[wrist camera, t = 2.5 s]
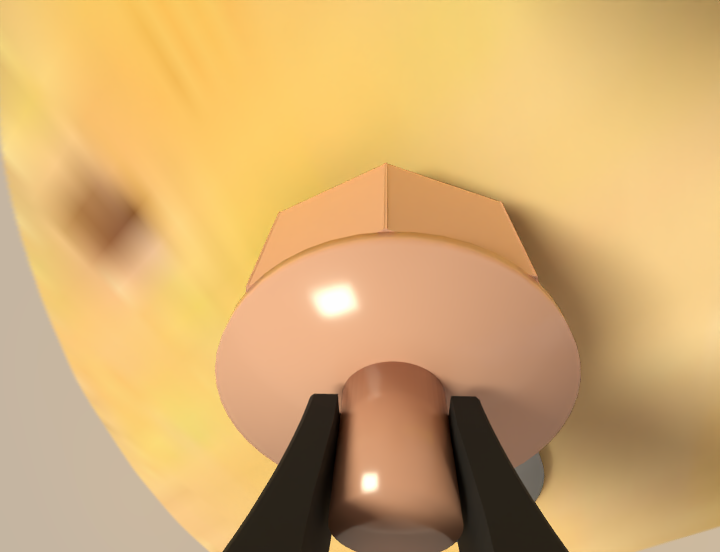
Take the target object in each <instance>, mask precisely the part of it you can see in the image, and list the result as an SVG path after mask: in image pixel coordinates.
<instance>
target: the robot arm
mask: <svg viewBox="0 0 720 552" xmlns="http://www.w3.org/2000/svg"><path fill="white" fill-rule="evenodd" d="M339 416H340V412H339V401H338V394H313V395H311V396H310V398H309V401H308V404H307V406H306V409H305V411H304V414H303V416H302V418H301V420H300V423H299V425H298V427H297V429H296V431H295V433H294V435H293V437H292V439H291V441H290V443H289V445H288V447H287V449H286V451H285V453H284V455H283V457H282V458H281V460H280V462H279V464H278V466H277V468H276V470H275V471H274V473H273V475H272V477H271V478H270V480H269V482H268V483H267V485H266V487H265V488H264V490H263V491H262V493H261V495H260V496H259V498H258V500H257V501H256V503H255V505H254V506H253V508H252V509H251V511H250V513H249V514H248V516H247V517H246V519H245V520H244V522H243V523H242V525H241V526H240V528H239V529H238V531H237V532H236V533H235V535H234V536H233V538H232V539H231V541H230V542H229V543H228V545H227V546H226V548H225V549H224V550H223V552H329V547H330V541H331V535H332V533H331V532H330V529H329V526H328V518H329V509H330V500H331V490H332V481H333V471H334V462H335V453H336V444H337V435H338V425H339ZM449 423H450V430H451V438H452V445H453V452H454V459H455V467H456V474H457V481H458V489H459V496H460V503H461V511H462V518H463V532H462V534H461V536H460V538H459V539H458V540H457V541H458V546H459V552H569V551H568V550H567V549H566V547H565V546H564V544H563V543H562V542H561V540H560V539H559V537H558V536H557V535H556V533H555V532H554V530H553V529H552V527H551V526H550V524H549V523H548V521H547V520H546V518H545V517H544V515H543V514H542V512H541V511H540V509H539V508H538V506H537V505H536V503H535V502H534V500H533V499H532V497H531V495H530V494H529V492H528V490H527V489H526V487H525V486H524V484H523V482H522V481H521V479H520V477H519V476H518V474H517V472H516V470H515V469H514V467H513V465H512V464H511V462H510V460H509V458H508V457H507V455H506V453H505V451H504V449H503V448H502V446H501V444H500V442H499V440H498V438H497V436H496V434H495V432H494V430H493V428H492V426H491V424H490V422H489V420H488V418H487V416H486V414H485V411H484V409H483V407H482V404H481V402H480V400H479V399H478V398H477V397H476V396H451V399H450V408H449Z"/></svg>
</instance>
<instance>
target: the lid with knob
mask: <svg viewBox="0 0 720 552" xmlns="http://www.w3.org/2000/svg"><path fill="white" fill-rule="evenodd" d="M537 278H538V276H537V274H536V271H535V269H534V267H533V265H532V263H531V261H530V259H529V257H528V255H527V253H526V251H525V249H524V247H523V245H522V243H521V240H520V238H519V236H518V234H517V232H516V230H515V228H514V226H513V224H512V222H511V220H510V218H509V216H508V214H507V212H506V209H505V207H504V205H503V203H502V202H501V201H500V202H499V201H496V200H493V199H490V198H487V197H484V196H482V195H479V194H476V193H473V192H470V191H467V190H464V189H461V188H458V187H455V186H452V185H449V184H446V183H443V182H440V181H437V180H434V179H431V178H428V177H425V176H422V175H419V174H416V173H413V172H410V171H407V170H404V169H401V168H398V167H396V166H393V165H390V164H387V163H384V164H383V165H381V166H379V167H377V168H374V169H372V170H370V171H368V172H366V173H364V174H361V175H359V176H357V177H355V178H353V179H351V180H348V181H346V182H344V183H342V184H340V185H338V186H336V187H333V188H331V189H329V190H327V191H325V192H323V193H320V194H318V195H316V196H314V197H312V198H310V199H307V200H305V201H303V202H301V203H299V204H297V205H294V206H292V207H290V208H288V209H286V210H284V211H282V212H279V213H278V215H277V217H276V219H275V221H274V224H273V226H272V228H271V231H270V233H269V235H268V237H267V240H266V242H265V244H264V247H263V249H262V251H261V253H260V256H259V258H258V260H257V262H256V265H255V267H254V269H253V272H252V274H251V276H250V278H249V281H248V283H247V285H246V288H247V289H246V293H245V294H244V296H243V297H242V298H241V300H240V301H239V302H238V304H237V305H236V307H235V309H234V311H233V313H232V315H231V317H230V319H229V321H228V323H227V325H226V328H225V330H224V332H223V334H222V337H221V340H220V344H219V347H218V350H217V356H216V365H215V373H216V384H217V388H218V392H219V396H220V399H221V402H222V404H223V406H224V408H225V411H226V413H227V415H228V416H229V418H230V419H231V421H232V422H233V424H234V425H235V427H236V428H237V430H238V431H239V432H240V433H241V434H242V435H243V436H244V438H245V439H246V440H247V441H248V442H249V443H250V444H251V445H253V446H254V447H255V448H256V449H257V450H258V451H259V452H260V453H262V454H263V455H265V456H266V457H268V458H269V459H270V460H272V461H273V462H275V463H276V464H279V462H280V460H281V458H282V457H283V455H284V453H285V451H286V449H287V447H288V445H289V443H290V441H291V439H292V437H293V435H294V433H295V431H296V429H297V427H298V425H299V423H300V420H301V418H302V416H303V414H304V411H305V409H306V406H307V404H308V401H309V398H310V396H311V395H313V394H338V401H339V412H340V416H339V425H338V435H337V444H336V453H335V462H334V471H333V481H332V490H331V500H330V509H329V518H328V526H329V529H330V532H331V533H332V535H333V536H334V537H335V539H336V540H338V541H339V542H340V543H341V544H343V545H344V546H346V547H348V548H350V549H352V550H354V551H356V552H441V551H443V550H445V549H447V548H449V547H450V546H452V545H453V544H454V543H455V542H456V541H457V540H458V539H459V538H460V536H461V534H462V532H463V518H462V511H461V503H460V496H459V489H458V481H457V474H456V467H455V459H454V452H453V445H452V438H451V430H450V423H449V408H450V399H451V396H476V397H477V398H478V399H479V400H480V402H481V404H482V407H483V409H484V411H485V414H486V416H487V418H488V420H489V422H490V424H491V426H492V428H493V430H494V432H495V434H496V436H497V438H498V440H499V442H500V444H501V446H502V448H503V449H504V451H505V453H506V455H507V457H508V458H509V460H510V462H511V464H512V465H513V467H514V468H516V467H517V466H519V465H521V464H523V463H524V462H526V461H527V460H528V459H530V458H531V457H533V456H534V455H535V454H537V453H538V452H539V451H540V450H541V449H543V448H544V447H545V446H546V445H547V444H548V443H549V442H550V441H551V440H552V439H553V438H554V437H555V435H556V434H557V433H558V432H559V431H560V429H561V428H562V427H563V425H564V424H565V422H566V420H567V419H568V417H569V415H570V414H571V412H572V409H573V407H574V404H575V402H576V399H577V396H578V391H579V386H580V380H581V369H580V358H579V354H578V349H577V345H576V342H575V340H574V338H573V335H572V333H571V331H570V328H569V326H568V324H567V322H566V320H565V318H564V316H563V314H562V312H561V311H560V309H559V308H558V306H557V305H556V303H555V302H554V300H553V299H552V297H551V296H550V294H549V293H548V292H547V291H546V290H545V289H544V288H543V287H542V286H541V285H540V284H539V281H538V279H537Z"/></svg>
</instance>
